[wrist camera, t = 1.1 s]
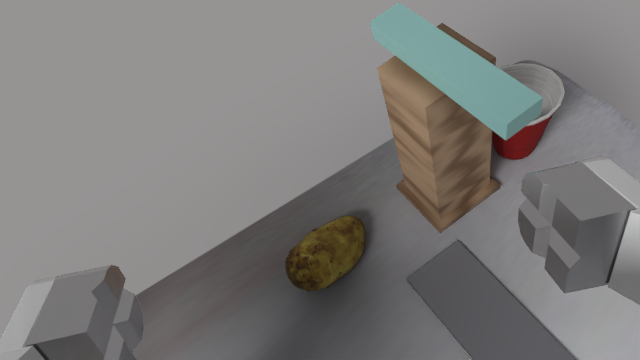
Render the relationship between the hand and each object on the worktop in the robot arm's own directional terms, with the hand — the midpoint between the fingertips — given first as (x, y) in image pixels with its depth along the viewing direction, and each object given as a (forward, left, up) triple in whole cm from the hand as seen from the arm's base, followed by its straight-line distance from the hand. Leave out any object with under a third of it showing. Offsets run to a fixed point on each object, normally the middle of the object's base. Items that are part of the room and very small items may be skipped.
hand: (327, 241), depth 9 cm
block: (+21, +23, -28) cm, 42 cm away
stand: (+21, +25, -54) cm, 63 cm away
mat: (+12, +6, -54) cm, 55 cm away
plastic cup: (+33, +24, -54) cm, 68 cm away
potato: (+1, +26, -54) cm, 60 cm away
